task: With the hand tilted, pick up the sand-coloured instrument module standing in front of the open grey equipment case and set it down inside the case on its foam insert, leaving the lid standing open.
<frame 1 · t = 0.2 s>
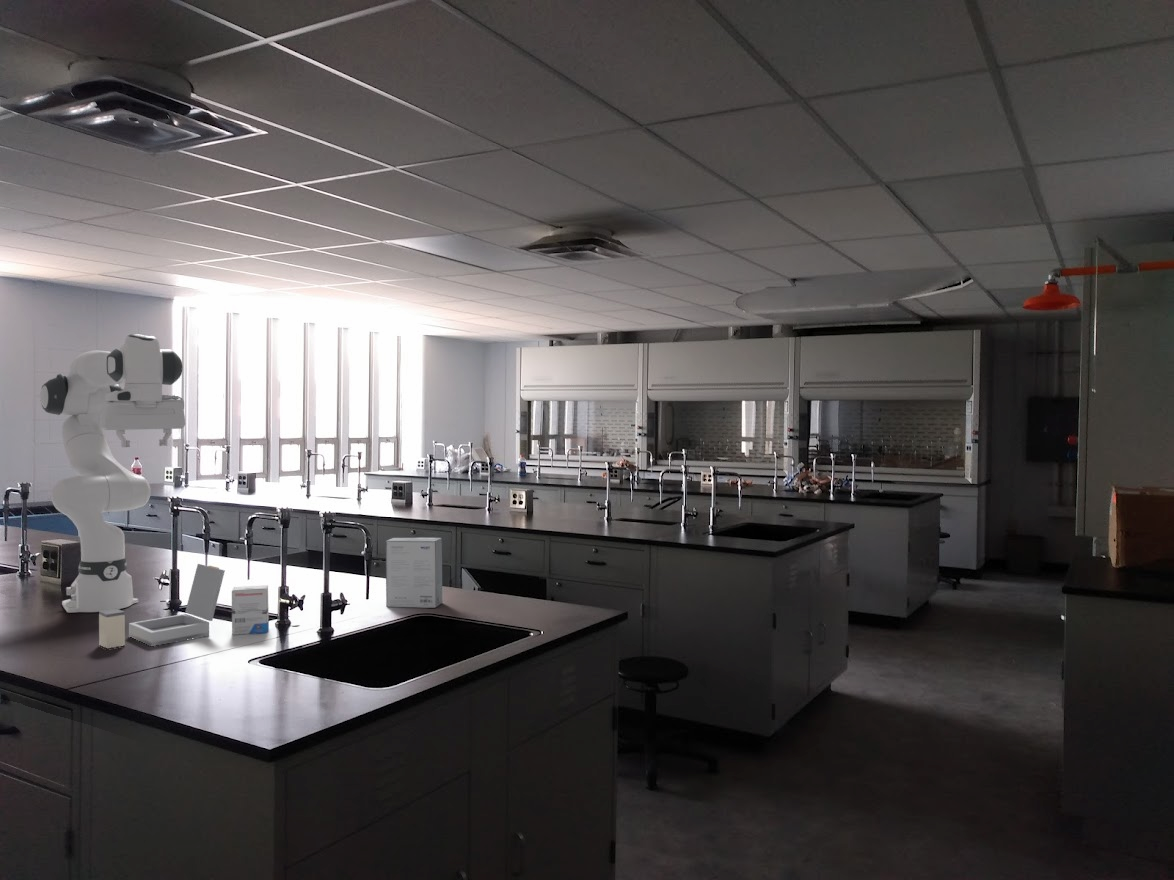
hand: (144, 446, 220), 48 cm above the countertop, tool pointing down, fingers open, 8 cm apart
case: (169, 636, 209), on the countertop
ink box: (250, 632, 214), on the countertop
case lid: (206, 591, 216), point 10 cm above the countertop, hinge at 105.0°
hard drive box: (414, 605, 247), on the countertop
module: (112, 646, 200), on the countertop
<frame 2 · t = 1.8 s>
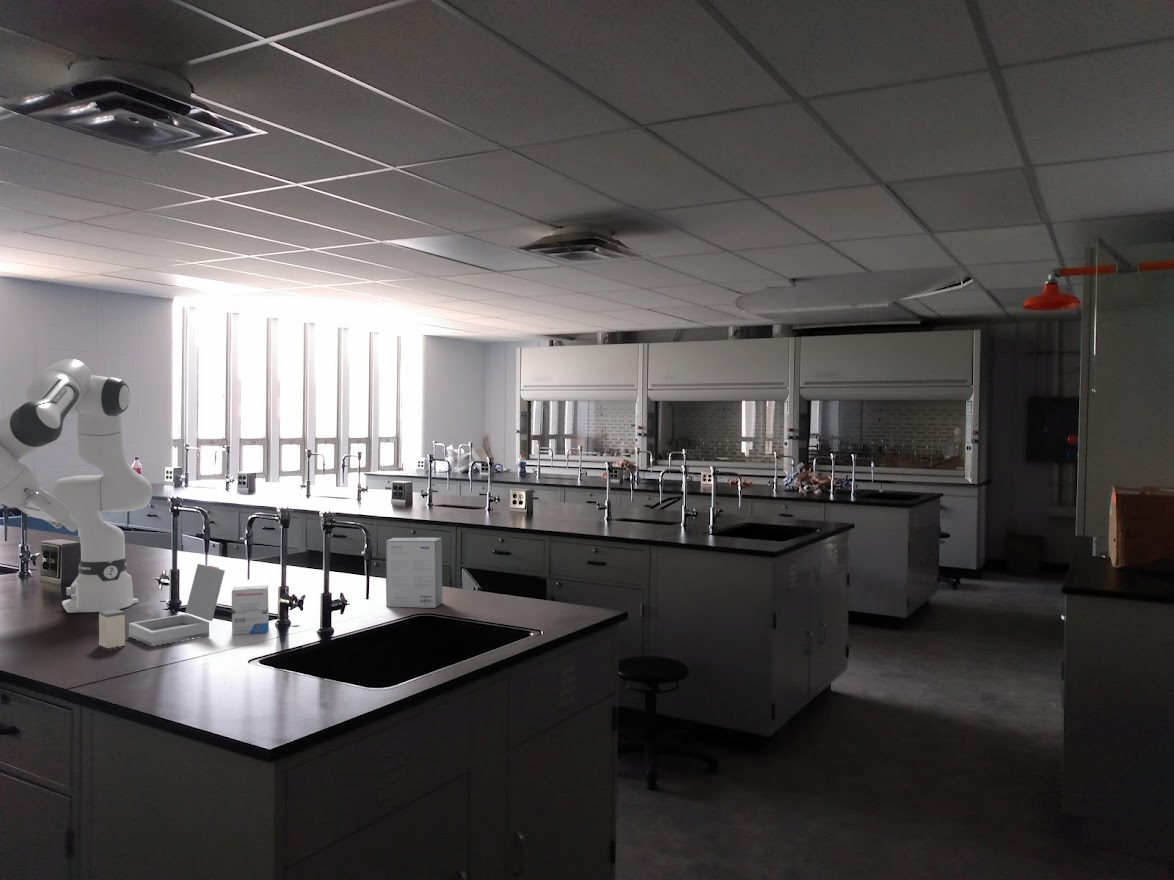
hand: (68, 527, 193), 30 cm above the countertop, tool tilted 45°, fingers open, 8 cm apart
nothing on the countertop moved.
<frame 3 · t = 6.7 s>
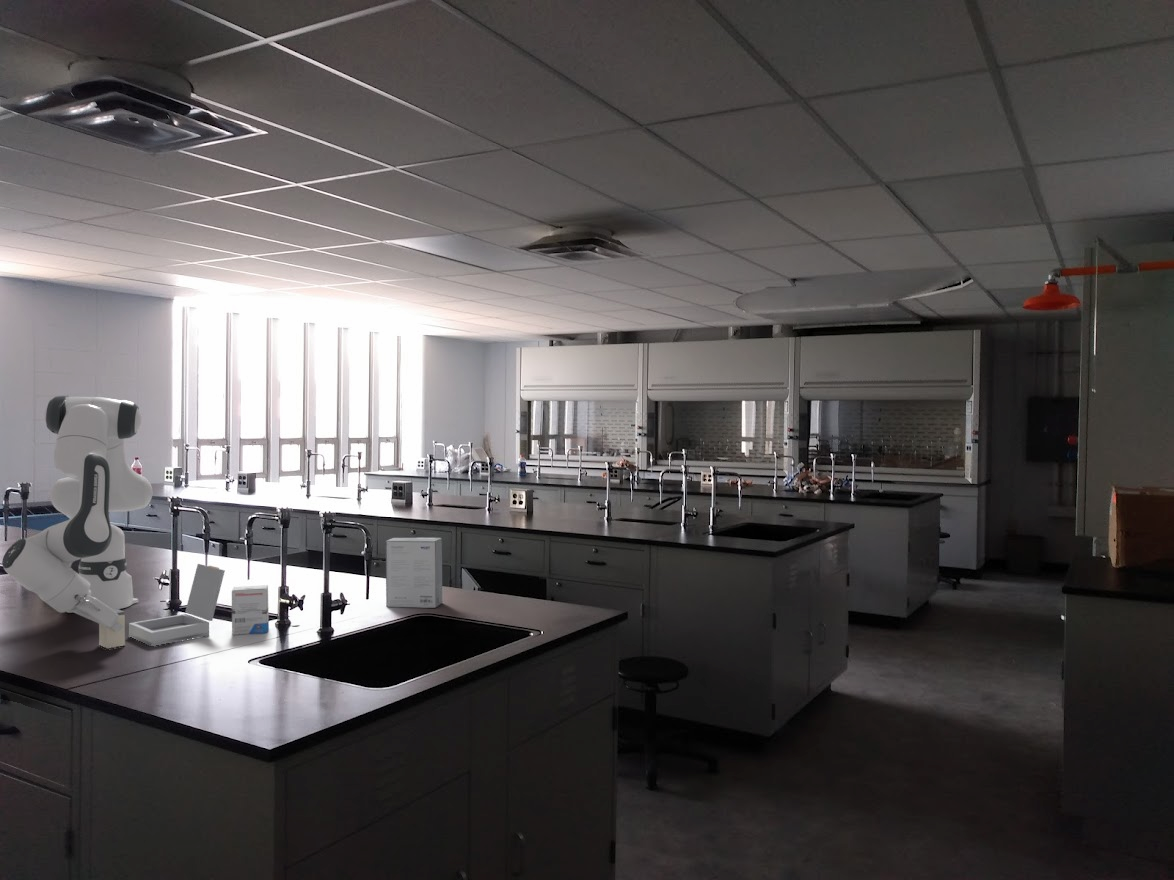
hand: (114, 626, 201), 5 cm above the countertop, tool tilted 45°, fingers closed on module, 5 cm apart
module: (112, 646, 200), on the countertop, touching gripper
everything else where it was.
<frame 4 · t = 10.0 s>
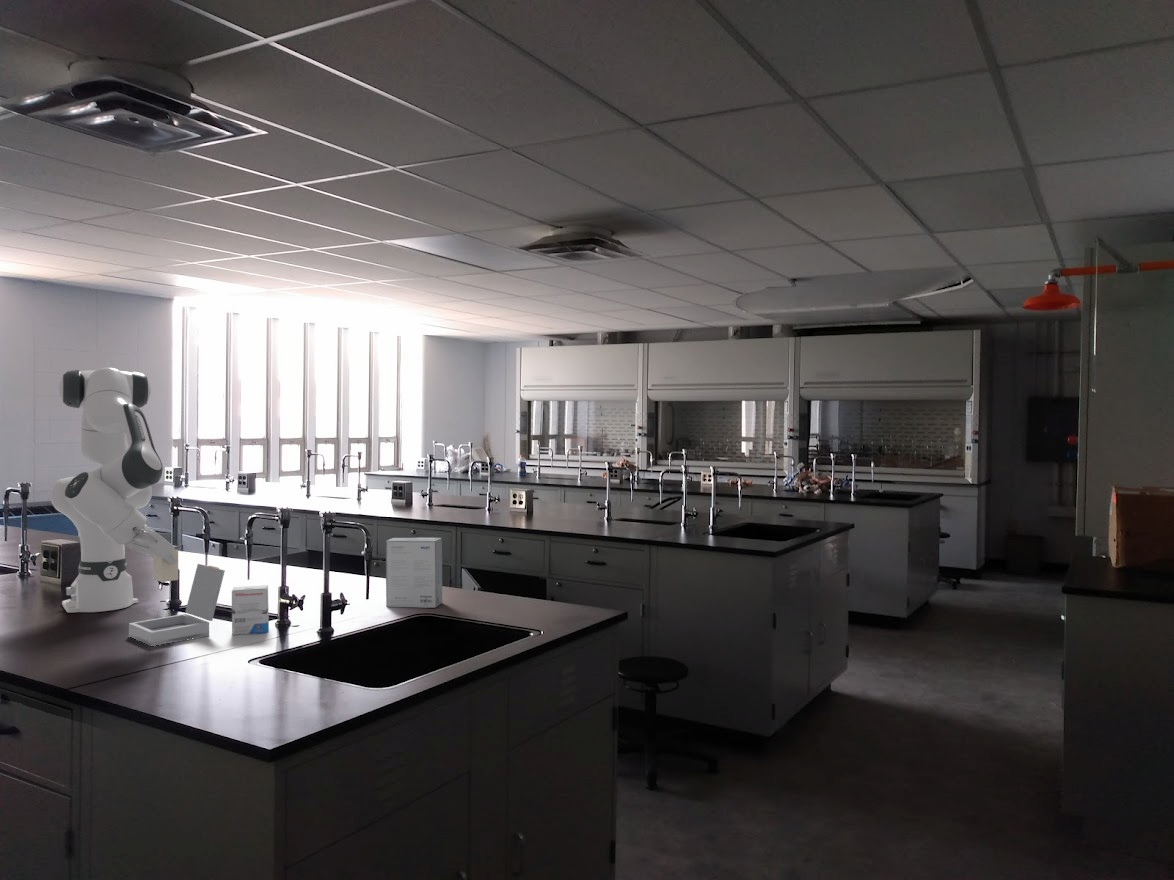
hand: (168, 561, 209), 19 cm above the countertop, tool tilted 45°, fingers closed on module, 5 cm apart
module: (165, 579, 209), point 15 cm above the countertop, touching gripper
everything else where it was.
when the fingers open (7 cm above the countertop, at t = 12.8 s): module drops 1 cm, resting on case.
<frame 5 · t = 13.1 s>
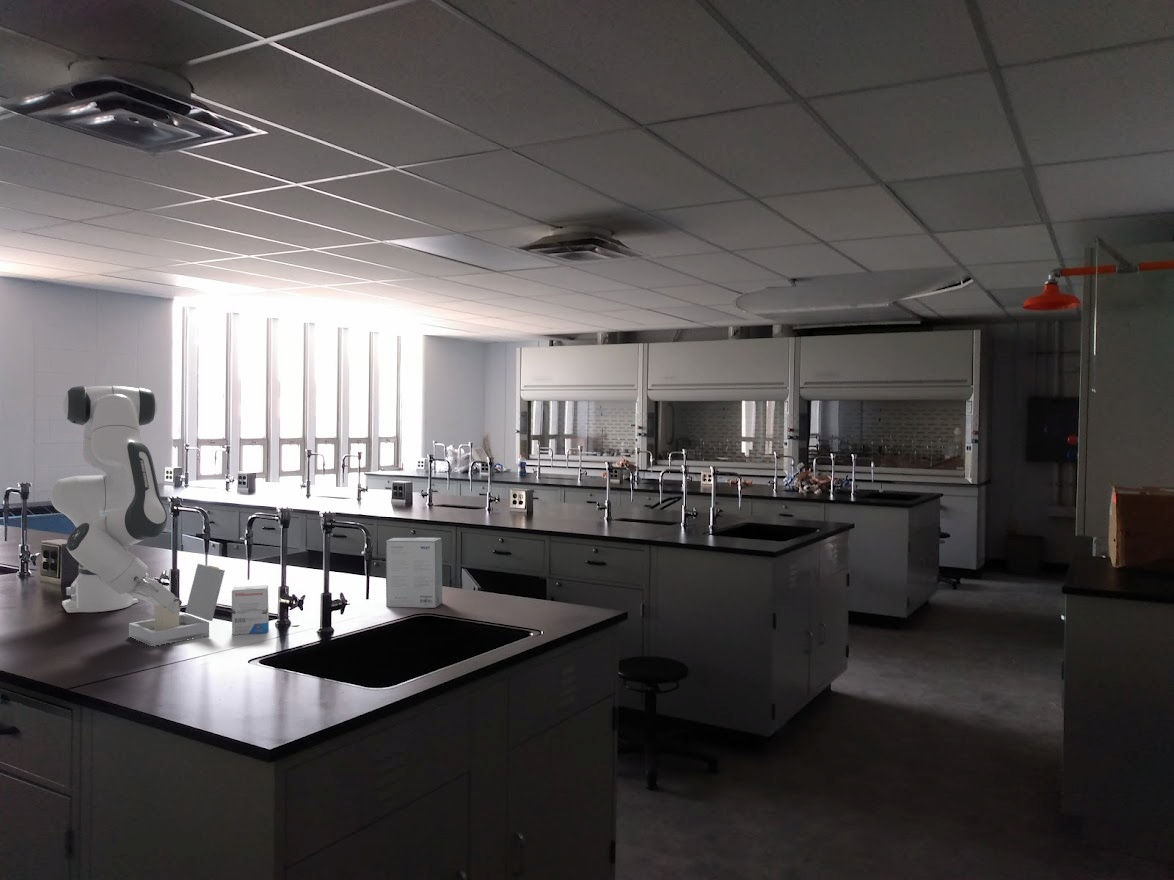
hand: (169, 608, 209), 7 cm above the countertop, tool tilted 45°, fingers open, 8 cm apart
module: (167, 631, 209), point 1 cm above the countertop, touching case
everything else where it was.
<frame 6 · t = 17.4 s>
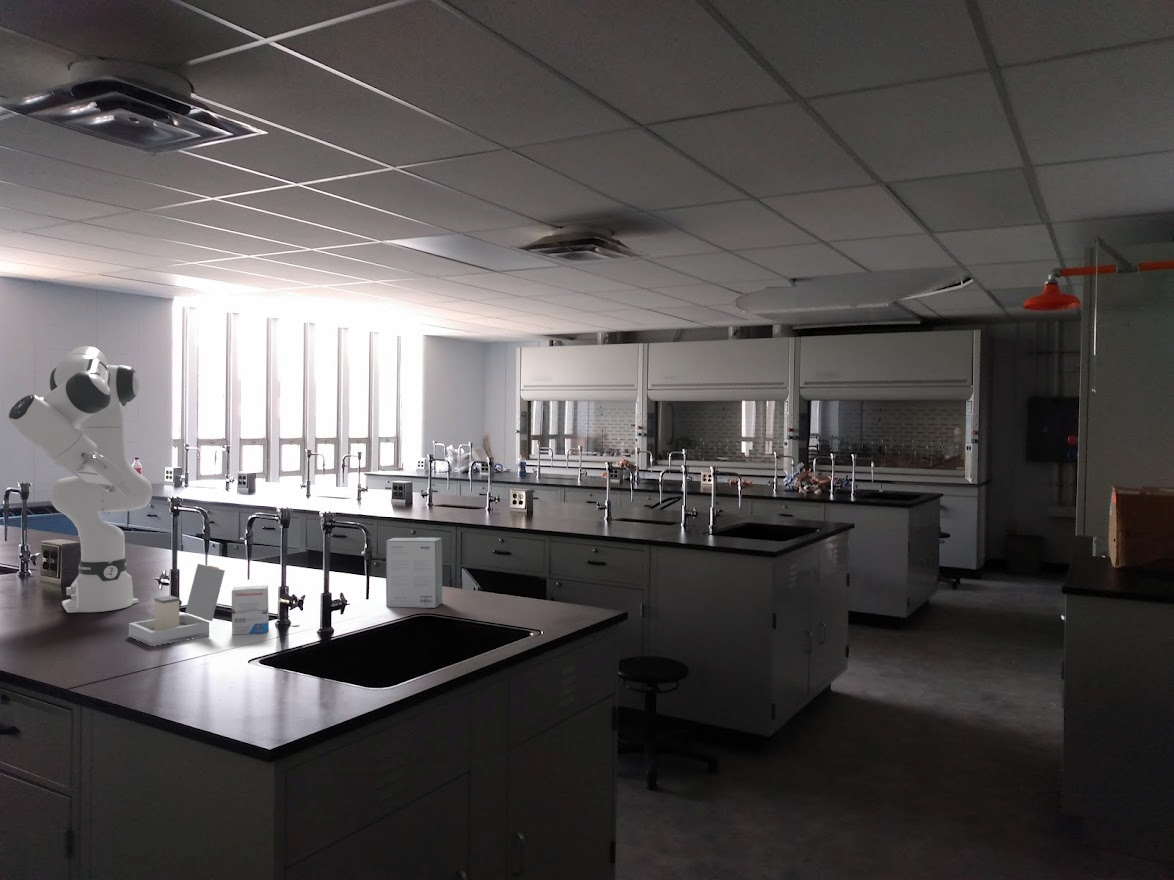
hand: (121, 492, 202), 37 cm above the countertop, tool tilted 45°, fingers open, 8 cm apart
nothing on the countertop moved.
at the end: module inside the target area on the case (0.5 cm from its centre), point 1.4 cm above the case's base; module tilted 0°; case lid at +105° (first picture: +105°) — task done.
